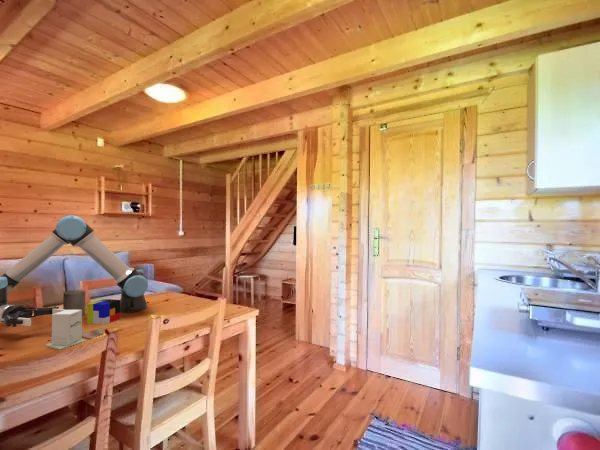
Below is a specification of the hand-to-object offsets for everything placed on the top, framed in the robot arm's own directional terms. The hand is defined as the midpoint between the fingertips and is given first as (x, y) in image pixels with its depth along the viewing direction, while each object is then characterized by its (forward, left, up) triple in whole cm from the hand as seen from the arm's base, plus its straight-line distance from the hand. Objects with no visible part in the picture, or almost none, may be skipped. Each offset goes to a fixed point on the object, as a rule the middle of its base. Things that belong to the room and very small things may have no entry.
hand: (48, 317), depth 128 cm
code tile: (-9, -2, -10) cm, 14 cm away
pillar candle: (-26, -29, -11) cm, 40 cm away
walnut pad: (-14, +10, -10) cm, 20 cm away
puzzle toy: (-28, -7, -11) cm, 31 cm away
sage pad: (-2, +10, -10) cm, 14 cm away
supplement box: (-2, +10, -10) cm, 14 cm away
